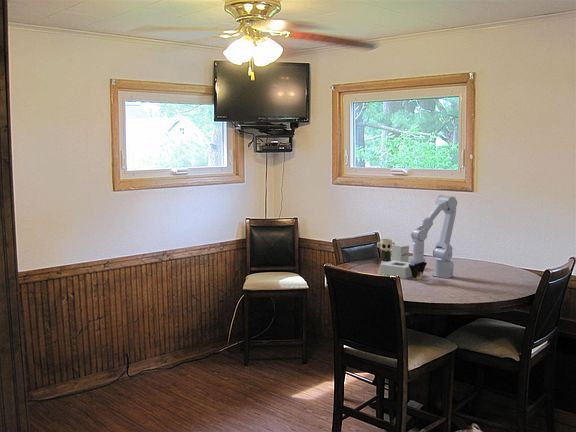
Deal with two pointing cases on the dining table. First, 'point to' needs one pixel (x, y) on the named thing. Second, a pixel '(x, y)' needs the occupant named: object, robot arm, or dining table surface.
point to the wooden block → (418, 276)
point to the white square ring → (396, 269)
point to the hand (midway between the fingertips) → (417, 276)
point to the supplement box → (400, 253)
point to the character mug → (385, 248)
